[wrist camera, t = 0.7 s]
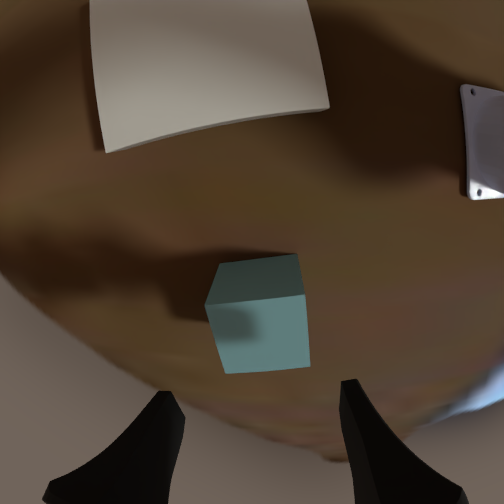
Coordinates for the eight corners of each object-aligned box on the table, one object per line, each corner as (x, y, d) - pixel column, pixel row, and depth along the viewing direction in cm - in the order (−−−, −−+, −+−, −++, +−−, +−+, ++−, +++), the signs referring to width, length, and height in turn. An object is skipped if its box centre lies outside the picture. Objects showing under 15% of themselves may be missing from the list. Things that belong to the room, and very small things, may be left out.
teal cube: (296, 253, 18) (304, 294, 14) (303, 317, 20) (310, 366, 16) (219, 262, 19) (204, 305, 14) (234, 324, 21) (225, 373, 16)
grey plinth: (282, -44, 11) (284, -68, 8) (319, 112, 15) (329, 108, 12) (110, 0, 12) (89, -14, 9) (129, 148, 17) (105, 153, 14)
